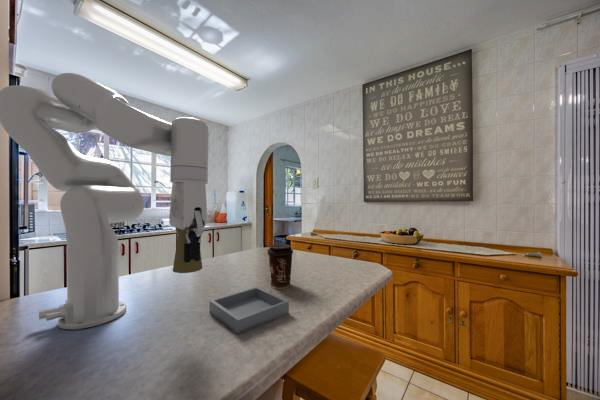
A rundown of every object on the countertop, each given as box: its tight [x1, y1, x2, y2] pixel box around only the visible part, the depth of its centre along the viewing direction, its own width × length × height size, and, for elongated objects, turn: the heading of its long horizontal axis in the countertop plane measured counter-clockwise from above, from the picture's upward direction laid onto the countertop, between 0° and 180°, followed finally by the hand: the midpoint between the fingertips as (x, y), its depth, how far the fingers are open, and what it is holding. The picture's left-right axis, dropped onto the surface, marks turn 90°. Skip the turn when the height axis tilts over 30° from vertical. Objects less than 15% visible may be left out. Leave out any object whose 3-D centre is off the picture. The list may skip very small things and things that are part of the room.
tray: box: [209, 286, 290, 335], centre depth 62 cm, size 14×14×3 cm
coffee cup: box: [267, 243, 294, 290], centre depth 81 cm, size 9×8×13 cm
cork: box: [172, 225, 203, 274], centre depth 55 cm, size 6×6×11 cm
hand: (188, 258), depth 55 cm, fingers closed on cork, 3 cm apart
